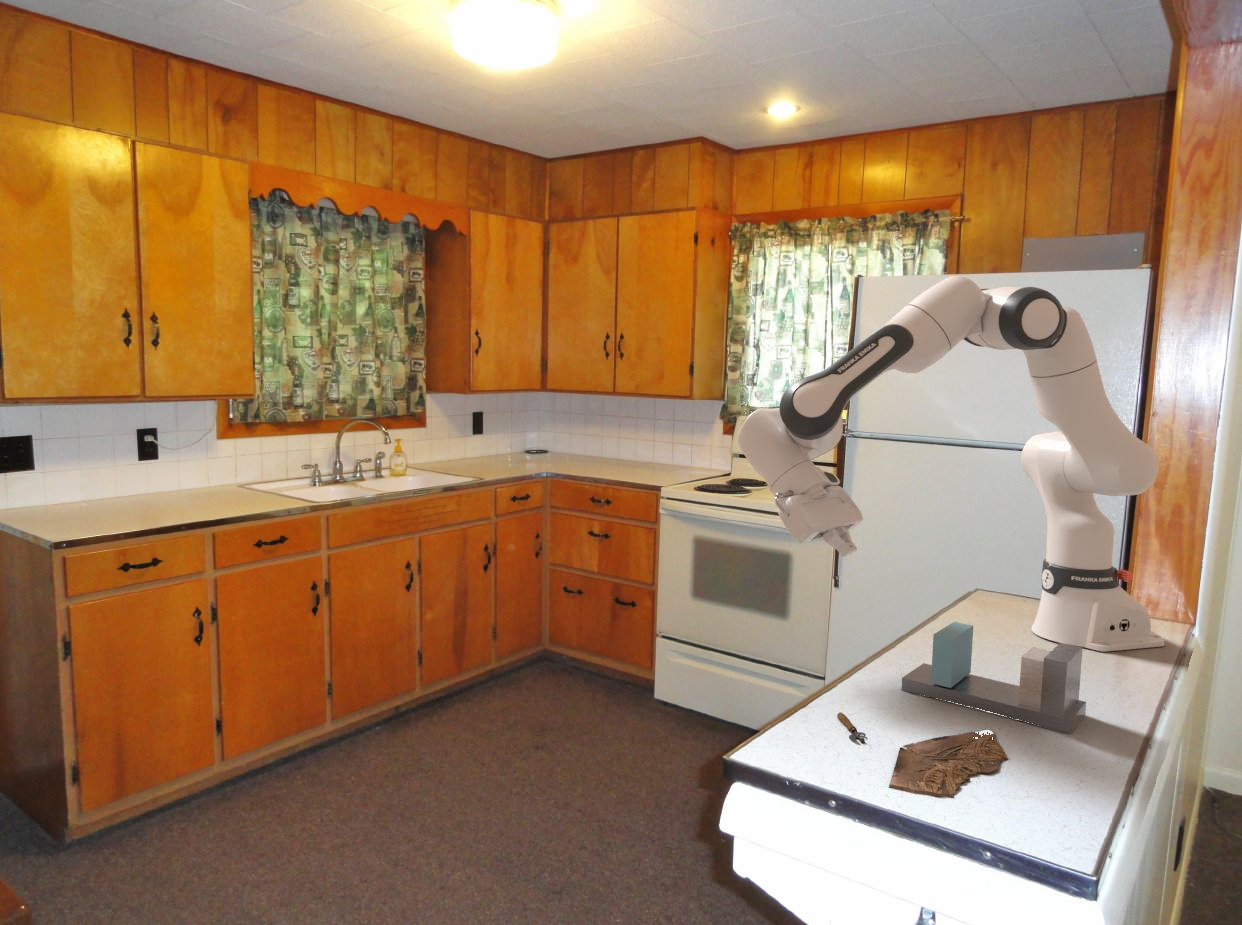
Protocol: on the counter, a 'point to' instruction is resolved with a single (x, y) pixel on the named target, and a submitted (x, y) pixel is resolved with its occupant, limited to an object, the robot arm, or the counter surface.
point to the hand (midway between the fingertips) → (850, 553)
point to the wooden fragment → (945, 763)
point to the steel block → (1032, 677)
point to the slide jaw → (951, 654)
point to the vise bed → (1016, 691)
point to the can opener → (851, 729)
